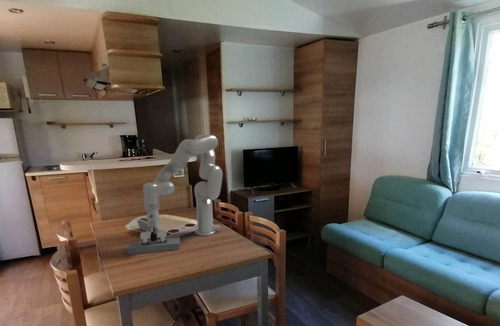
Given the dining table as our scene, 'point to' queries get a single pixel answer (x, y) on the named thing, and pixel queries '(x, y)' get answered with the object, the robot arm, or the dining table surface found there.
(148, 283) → the dining table surface
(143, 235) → the clip
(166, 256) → the dining table surface
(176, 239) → the rail
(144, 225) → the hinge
